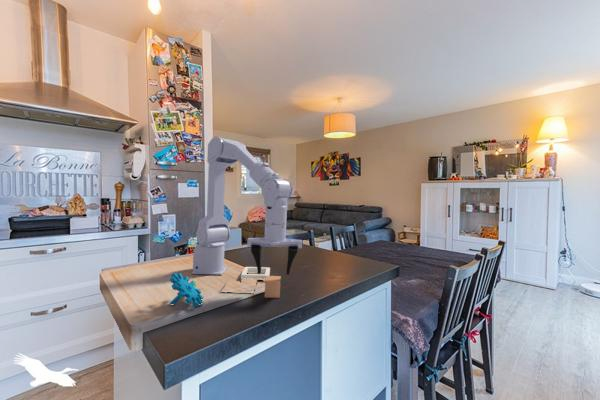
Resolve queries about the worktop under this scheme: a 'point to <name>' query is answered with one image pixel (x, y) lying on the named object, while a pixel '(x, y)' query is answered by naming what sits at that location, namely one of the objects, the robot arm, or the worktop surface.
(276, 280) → the light brown wooden cube
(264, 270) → the socket
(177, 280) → the teal spiky cog
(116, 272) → the worktop surface
